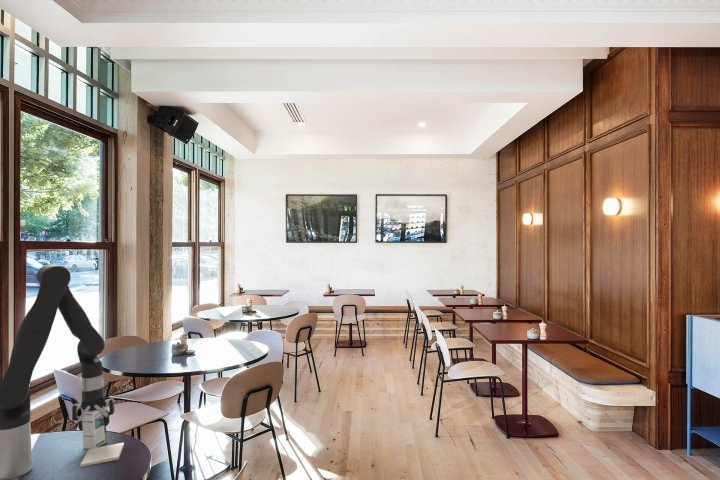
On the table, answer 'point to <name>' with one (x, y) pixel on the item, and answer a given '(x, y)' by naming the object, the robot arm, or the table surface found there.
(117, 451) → the ceramic tile
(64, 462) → the table surface
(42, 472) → the table surface
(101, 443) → the syrup box
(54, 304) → the robot arm
